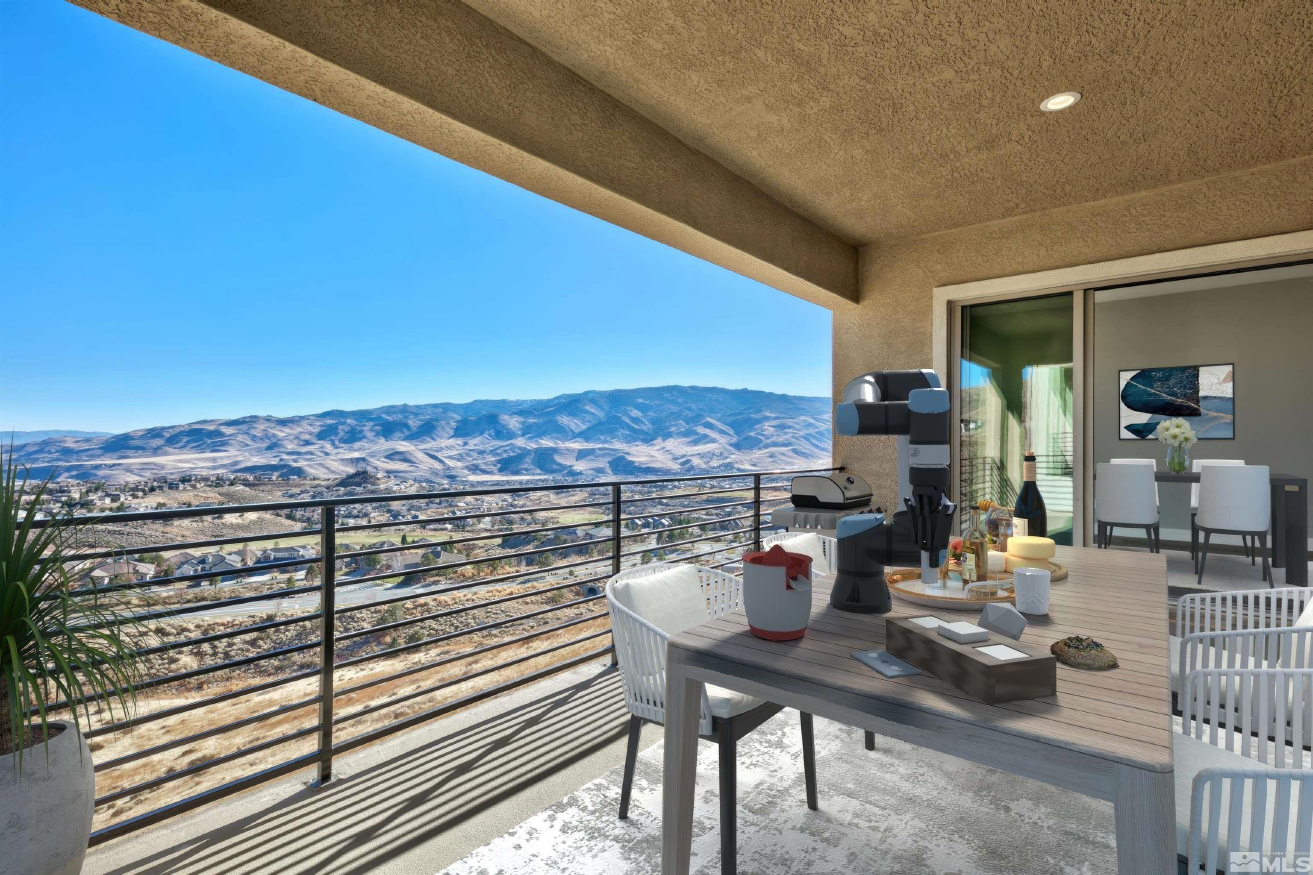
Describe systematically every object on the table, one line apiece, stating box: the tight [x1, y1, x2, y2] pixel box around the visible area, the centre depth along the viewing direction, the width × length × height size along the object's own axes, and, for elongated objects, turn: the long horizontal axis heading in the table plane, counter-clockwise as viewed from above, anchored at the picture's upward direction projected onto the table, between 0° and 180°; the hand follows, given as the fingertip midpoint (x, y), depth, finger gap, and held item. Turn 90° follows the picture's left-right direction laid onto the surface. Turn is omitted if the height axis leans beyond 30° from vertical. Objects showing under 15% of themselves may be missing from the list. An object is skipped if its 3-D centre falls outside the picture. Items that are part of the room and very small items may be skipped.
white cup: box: [1013, 566, 1052, 616], centre depth 155 cm, size 8×8×10 cm
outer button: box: [974, 645, 1030, 661], centre depth 109 cm, size 6×6×3 cm
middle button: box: [938, 621, 989, 643], centre depth 117 cm, size 6×6×3 cm
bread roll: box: [1049, 634, 1120, 669], centre depth 122 cm, size 11×11×5 cm
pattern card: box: [850, 649, 922, 679], centre depth 121 cm, size 12×7×1 cm, turn 16°
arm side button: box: [907, 616, 947, 628], centre depth 126 cm, size 6×6×3 cm
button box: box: [885, 612, 1057, 706], centre depth 117 cm, size 27×14×6 cm, turn 16°
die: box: [976, 602, 1029, 642], centre depth 134 cm, size 8×9×10 cm
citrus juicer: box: [741, 543, 814, 642], centre depth 139 cm, size 16×17×20 cm
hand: (929, 582), depth 126 cm, fingers closed
